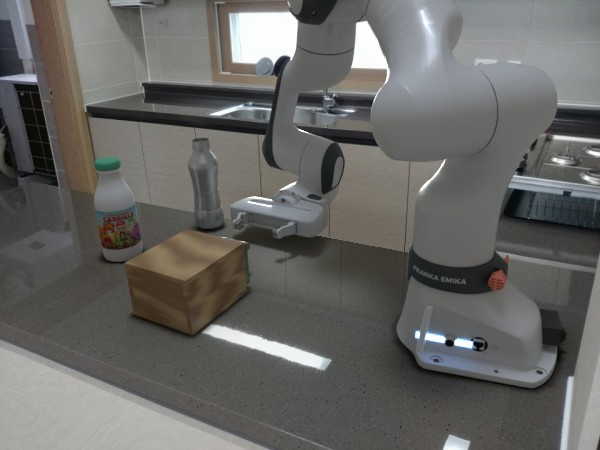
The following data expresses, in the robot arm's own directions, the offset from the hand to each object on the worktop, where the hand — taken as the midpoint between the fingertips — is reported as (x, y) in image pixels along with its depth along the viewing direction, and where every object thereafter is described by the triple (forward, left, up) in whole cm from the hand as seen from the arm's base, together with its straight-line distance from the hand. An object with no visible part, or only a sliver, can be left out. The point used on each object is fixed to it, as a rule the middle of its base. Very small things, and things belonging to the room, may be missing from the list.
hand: (254, 230), depth 104 cm
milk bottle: (+25, +11, -6) cm, 28 cm away
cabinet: (0, +19, -6) cm, 20 cm away
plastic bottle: (+18, -8, -6) cm, 21 cm away
